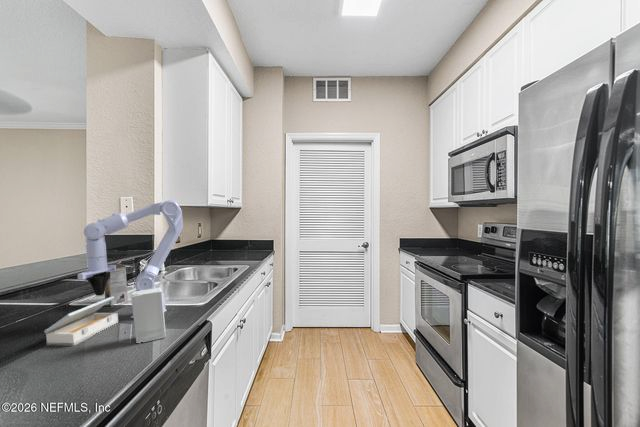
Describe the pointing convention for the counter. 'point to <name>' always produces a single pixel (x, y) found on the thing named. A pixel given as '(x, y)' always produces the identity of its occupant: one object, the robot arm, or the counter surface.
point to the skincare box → (148, 315)
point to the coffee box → (117, 285)
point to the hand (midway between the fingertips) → (99, 295)
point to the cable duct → (81, 329)
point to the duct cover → (78, 314)
